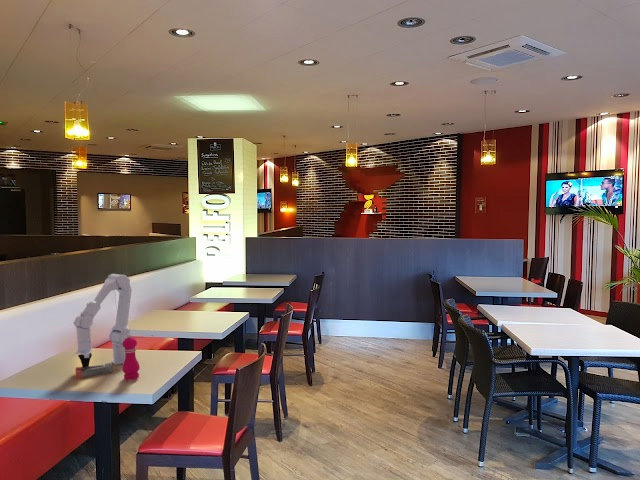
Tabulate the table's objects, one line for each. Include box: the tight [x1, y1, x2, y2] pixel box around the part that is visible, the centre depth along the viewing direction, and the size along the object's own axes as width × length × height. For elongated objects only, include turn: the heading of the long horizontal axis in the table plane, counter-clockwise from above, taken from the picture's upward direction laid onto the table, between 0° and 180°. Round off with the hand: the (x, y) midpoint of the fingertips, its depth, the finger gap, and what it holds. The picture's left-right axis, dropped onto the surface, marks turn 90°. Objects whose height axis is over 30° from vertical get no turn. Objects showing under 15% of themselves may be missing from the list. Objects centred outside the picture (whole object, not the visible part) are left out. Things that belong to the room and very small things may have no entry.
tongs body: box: [75, 362, 113, 380], centre depth 227 cm, size 16×5×3 cm, turn 123°
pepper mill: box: [122, 333, 140, 381], centre depth 221 cm, size 7×7×20 cm
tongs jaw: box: [75, 364, 105, 372], centre depth 229 cm, size 12×2×3 cm, turn 104°
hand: (85, 369), depth 230 cm, fingers closed
